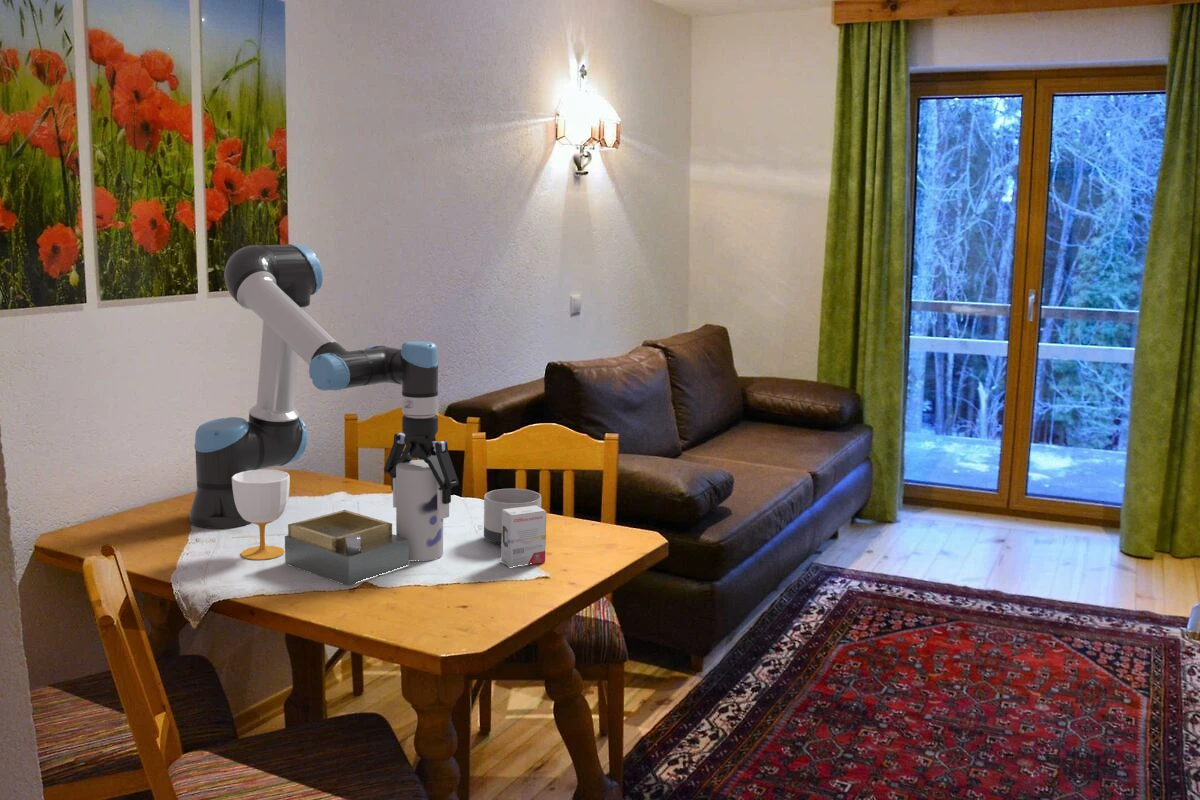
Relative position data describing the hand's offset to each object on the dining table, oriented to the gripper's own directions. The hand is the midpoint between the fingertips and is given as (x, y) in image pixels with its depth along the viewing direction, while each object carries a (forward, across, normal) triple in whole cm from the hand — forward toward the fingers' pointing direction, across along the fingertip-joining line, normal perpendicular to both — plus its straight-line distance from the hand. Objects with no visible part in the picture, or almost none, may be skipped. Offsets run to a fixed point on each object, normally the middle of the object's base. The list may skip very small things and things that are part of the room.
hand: (420, 512), depth 236 cm
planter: (+10, +8, +21) cm, 24 cm away
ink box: (+10, +20, +11) cm, 25 cm away
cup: (+10, -25, -22) cm, 35 cm away
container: (+10, 0, 0) cm, 10 cm away
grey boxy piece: (+10, -6, -15) cm, 19 cm away
